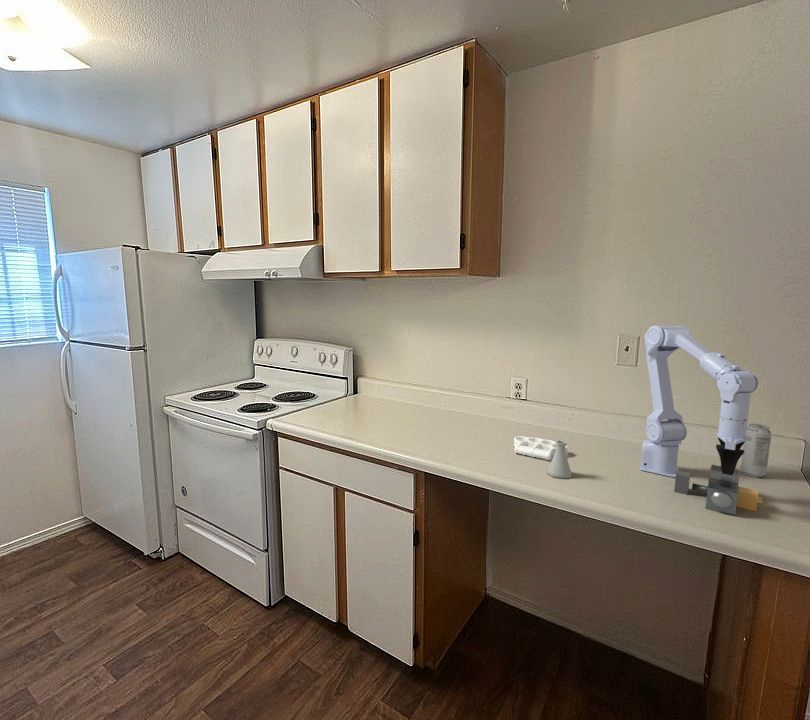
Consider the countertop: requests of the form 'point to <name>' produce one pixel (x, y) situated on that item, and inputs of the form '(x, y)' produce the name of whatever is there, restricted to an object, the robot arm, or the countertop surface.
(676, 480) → the bar with block ends
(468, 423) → the countertop surface
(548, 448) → the white egg tray
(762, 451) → the energy drink can
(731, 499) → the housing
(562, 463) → the flask
